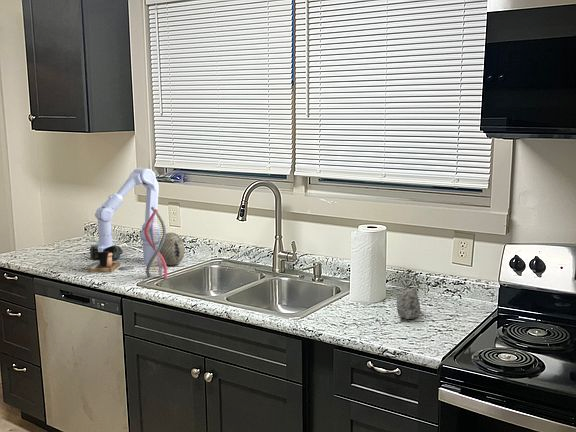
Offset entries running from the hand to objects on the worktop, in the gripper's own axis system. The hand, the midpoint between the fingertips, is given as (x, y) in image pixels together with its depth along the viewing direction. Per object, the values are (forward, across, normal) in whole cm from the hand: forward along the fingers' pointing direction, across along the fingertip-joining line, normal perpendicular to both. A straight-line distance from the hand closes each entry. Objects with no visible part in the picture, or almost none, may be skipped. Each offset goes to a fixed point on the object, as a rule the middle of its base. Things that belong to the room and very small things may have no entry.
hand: (106, 264), depth 280 cm
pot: (+2, 0, 0) cm, 2 cm away
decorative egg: (+3, -10, +27) cm, 29 cm away
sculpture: (+3, -19, -7) cm, 21 cm away
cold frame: (+2, 0, -1) cm, 3 cm away
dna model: (+3, +13, +26) cm, 29 cm away
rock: (+3, +57, +126) cm, 138 cm away
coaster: (+2, -1, +8) cm, 9 cm away
